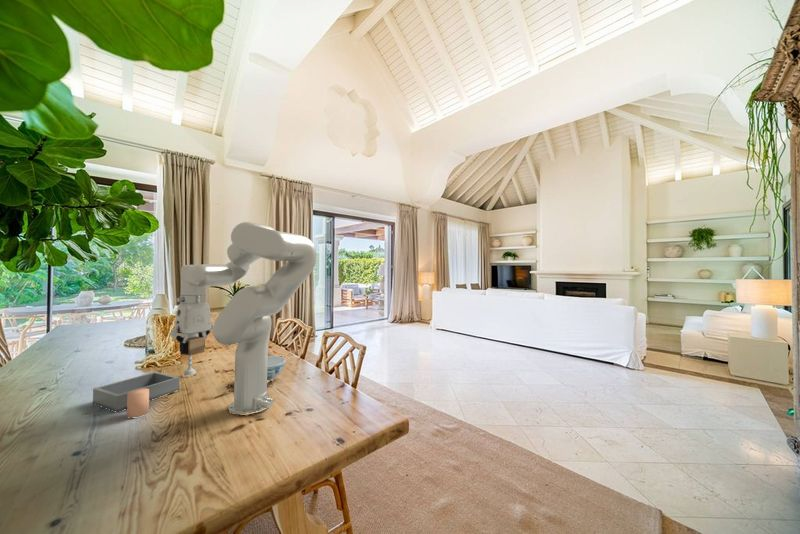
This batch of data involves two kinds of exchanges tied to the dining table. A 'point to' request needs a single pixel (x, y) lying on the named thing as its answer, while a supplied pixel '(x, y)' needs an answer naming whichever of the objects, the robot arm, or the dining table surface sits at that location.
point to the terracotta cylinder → (137, 402)
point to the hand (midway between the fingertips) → (192, 351)
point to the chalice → (190, 359)
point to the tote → (117, 392)
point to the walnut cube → (195, 345)
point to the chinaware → (274, 366)
